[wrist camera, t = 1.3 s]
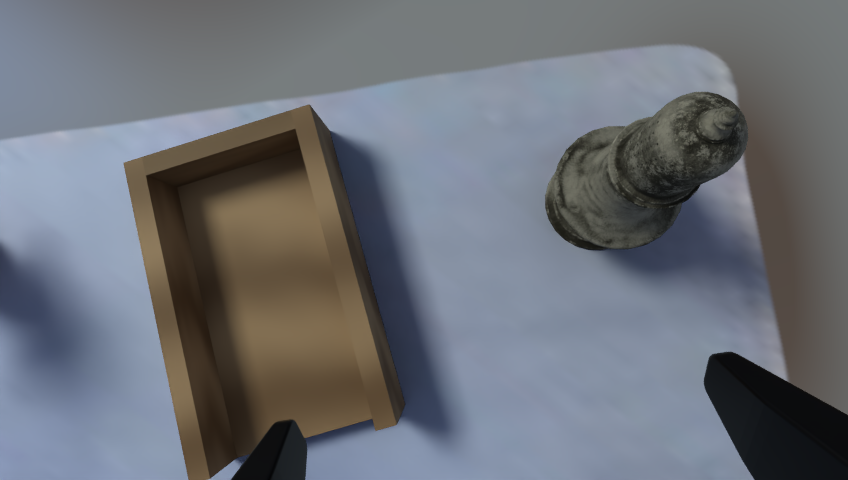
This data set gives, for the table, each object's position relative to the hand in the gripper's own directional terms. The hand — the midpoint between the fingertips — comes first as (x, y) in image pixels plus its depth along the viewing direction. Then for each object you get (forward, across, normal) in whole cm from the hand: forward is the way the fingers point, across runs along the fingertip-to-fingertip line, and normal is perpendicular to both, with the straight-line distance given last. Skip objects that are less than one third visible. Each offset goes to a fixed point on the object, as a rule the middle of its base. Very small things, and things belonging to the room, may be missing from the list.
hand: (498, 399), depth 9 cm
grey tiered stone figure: (+15, -8, +4) cm, 17 cm away
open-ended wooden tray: (+14, +10, +5) cm, 18 cm away
